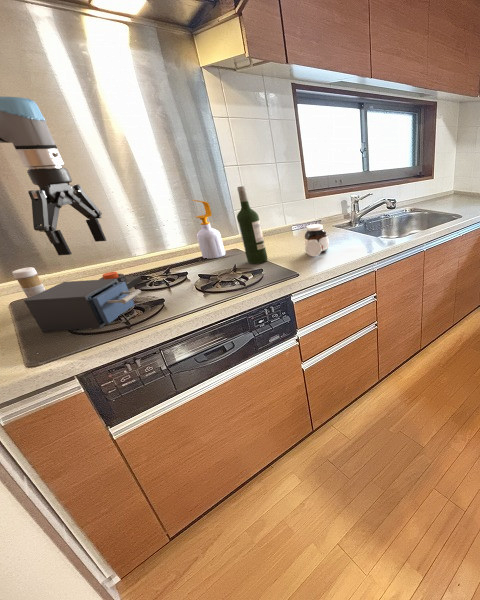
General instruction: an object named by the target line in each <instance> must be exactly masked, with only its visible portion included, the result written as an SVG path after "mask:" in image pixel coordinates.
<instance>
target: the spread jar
mask: <svg viewBox="0 0 480 600" xmlns="http://www.w3.org/2000/svg"><path fill="white" fill-rule="evenodd" d="M303 240H304V246H305V247H304V250H305V252H306V254H307V255H308V256H310V257H317V256H319V255H320V254H324V253H326V252H327V251H328V249H329V247H330V242H329V235H328V233H327V232H326V231H325V230H324V226H323V224H319V223H318V224H317V223H314V224H309V225H307V226H306V232H305V233H304V236H303Z"/></svg>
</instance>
